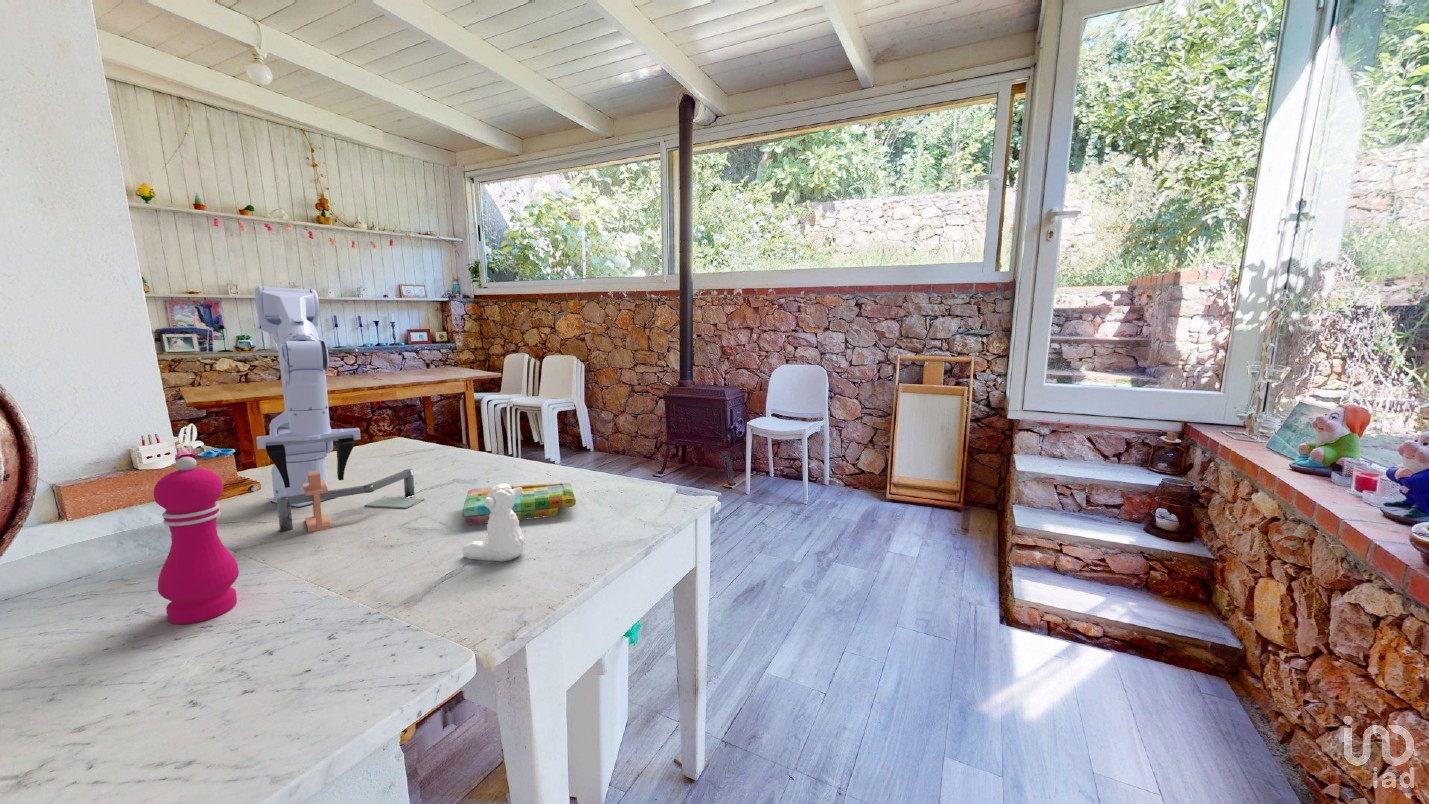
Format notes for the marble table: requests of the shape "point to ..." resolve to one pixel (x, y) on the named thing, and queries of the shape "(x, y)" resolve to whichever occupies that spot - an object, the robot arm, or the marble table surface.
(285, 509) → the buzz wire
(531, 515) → the puzzle game
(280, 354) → the robot arm
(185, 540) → the pepper mill
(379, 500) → the pad
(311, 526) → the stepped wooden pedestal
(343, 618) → the marble table surface
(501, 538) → the sitting furry creature
